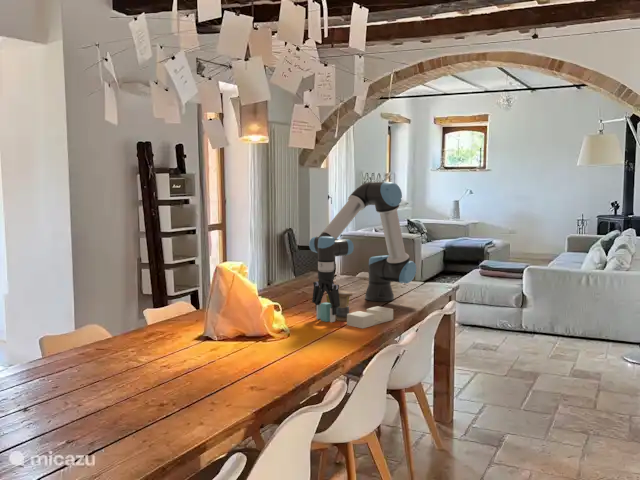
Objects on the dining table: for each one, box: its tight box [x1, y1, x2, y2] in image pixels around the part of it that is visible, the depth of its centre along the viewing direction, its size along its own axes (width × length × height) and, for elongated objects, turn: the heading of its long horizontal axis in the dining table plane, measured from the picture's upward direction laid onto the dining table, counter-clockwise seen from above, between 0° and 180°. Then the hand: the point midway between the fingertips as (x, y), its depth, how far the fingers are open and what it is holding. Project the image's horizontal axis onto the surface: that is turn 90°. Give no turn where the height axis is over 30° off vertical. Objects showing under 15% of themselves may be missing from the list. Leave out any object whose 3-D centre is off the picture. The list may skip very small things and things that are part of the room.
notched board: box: [346, 305, 394, 329], centre depth 281 cm, size 22×9×5 cm, turn 137°
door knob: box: [335, 290, 353, 322], centre depth 288 cm, size 9×9×12 cm
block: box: [320, 301, 331, 323], centre depth 285 cm, size 4×4×8 cm
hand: (325, 320), depth 285 cm, fingers open, 8 cm apart
